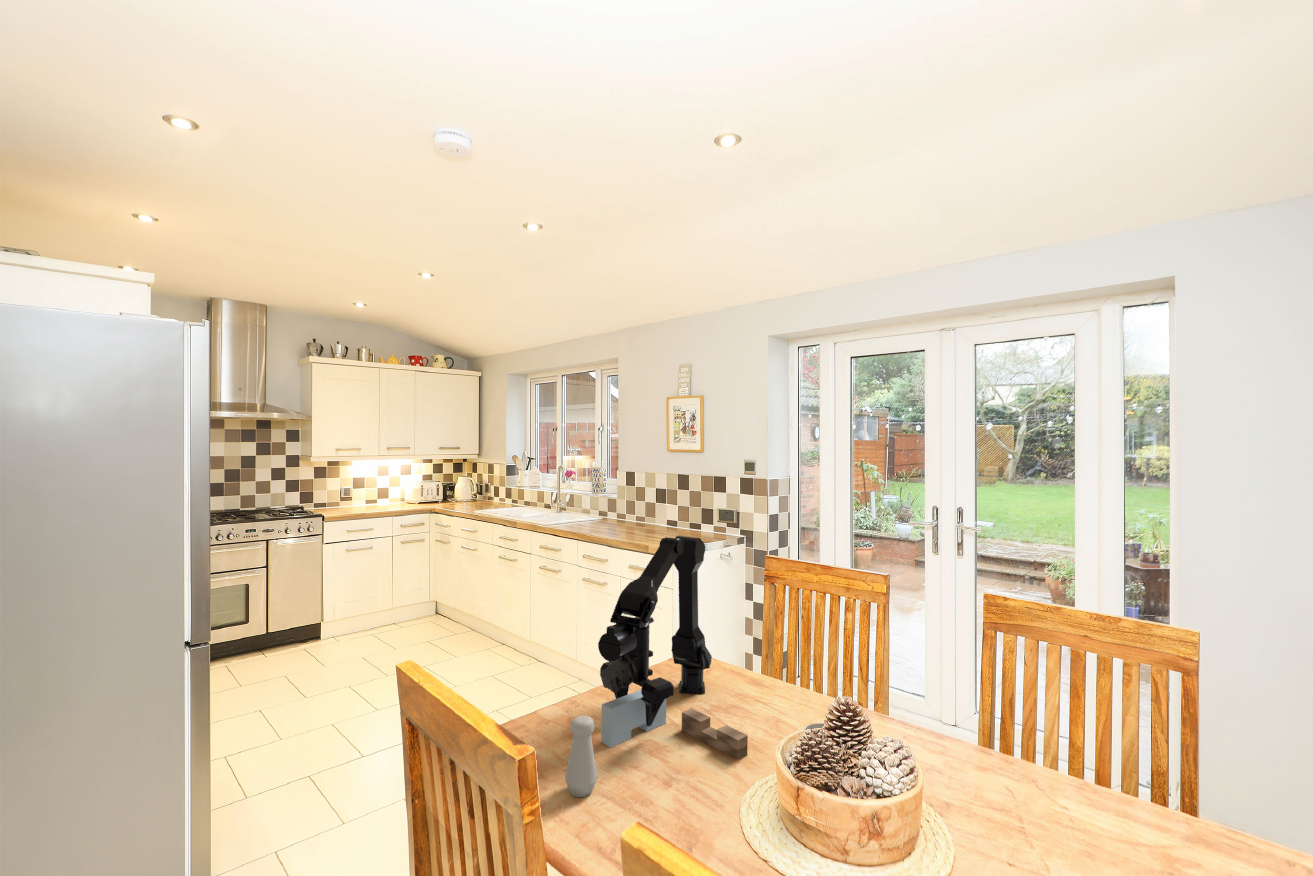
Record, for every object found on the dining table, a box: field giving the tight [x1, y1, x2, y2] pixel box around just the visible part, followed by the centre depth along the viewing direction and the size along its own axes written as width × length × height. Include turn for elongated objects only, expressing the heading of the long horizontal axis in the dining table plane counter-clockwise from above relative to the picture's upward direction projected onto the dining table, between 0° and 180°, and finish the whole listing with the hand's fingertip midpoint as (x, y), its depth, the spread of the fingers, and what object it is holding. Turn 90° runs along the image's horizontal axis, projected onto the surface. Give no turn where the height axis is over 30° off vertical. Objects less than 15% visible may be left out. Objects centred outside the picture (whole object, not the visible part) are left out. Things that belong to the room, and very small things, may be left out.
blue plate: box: [600, 689, 667, 748], centre depth 127 cm, size 16×3×8 cm, turn 132°
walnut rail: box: [681, 707, 749, 761], centre depth 123 cm, size 16×3×4 cm, turn 43°
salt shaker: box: [564, 715, 598, 798], centre depth 106 cm, size 6×6×13 cm
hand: (635, 718), depth 127 cm, fingers open, 9 cm apart
